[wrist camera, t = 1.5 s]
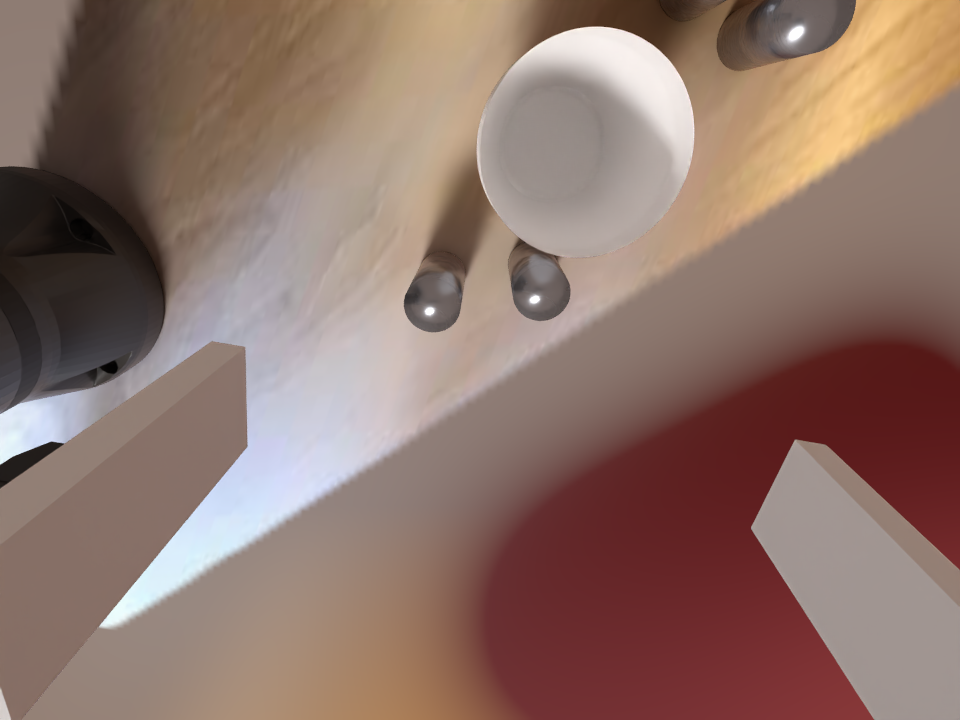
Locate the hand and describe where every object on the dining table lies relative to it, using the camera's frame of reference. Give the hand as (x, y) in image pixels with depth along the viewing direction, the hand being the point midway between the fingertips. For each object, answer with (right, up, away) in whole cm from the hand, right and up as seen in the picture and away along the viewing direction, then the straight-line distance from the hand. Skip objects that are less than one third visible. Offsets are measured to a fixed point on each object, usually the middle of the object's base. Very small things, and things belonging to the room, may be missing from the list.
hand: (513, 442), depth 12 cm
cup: (+4, +15, +19) cm, 25 cm away
